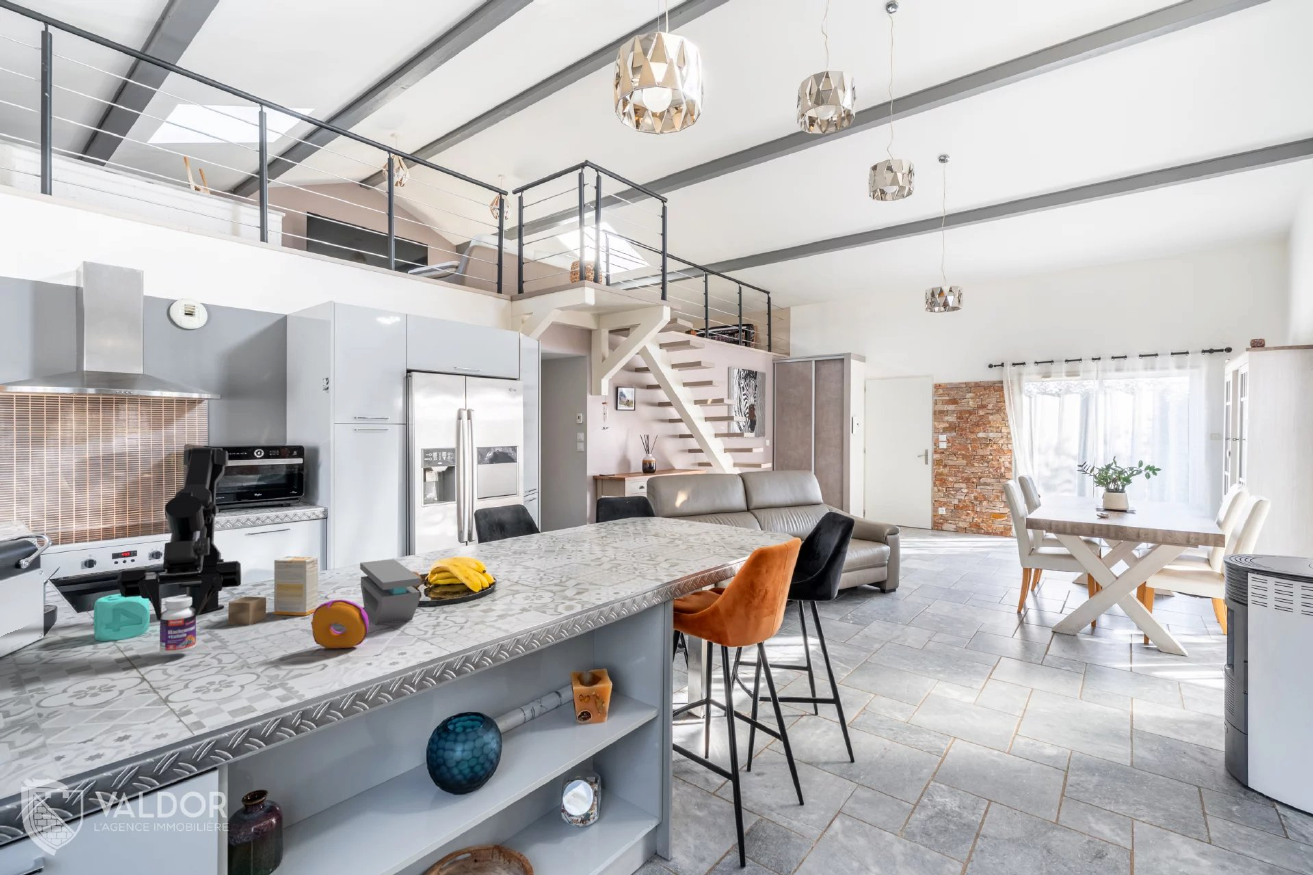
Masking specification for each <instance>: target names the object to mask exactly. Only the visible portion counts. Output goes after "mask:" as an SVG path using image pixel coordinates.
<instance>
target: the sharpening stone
mask: <svg viewBox="0 0 1313 875" xmlns="http://www.w3.org/2000/svg"><path fill="white" fill-rule="evenodd" d="M359 570H360V571H362V572H363V573H364V574H365V576H360V589H361V596H362V601H363V609H364V611H365V612H366V613H367V615H368V619H370V620H371V621H372V623H373V624H374V625H375V626H379V625H386V624H391V623H398V622H405V621H409V620H413V619H414V615H415V613H416V610H417V608H418V605H419V604H420V603H419V602H420V591H419V590H417V589H416V588H415V587H417V586H422V578H421V577H420V576H419V575H417V574H415V573H414V572H413V571H411V570H410V569H408V568H407V567H406V566H404V565H403V564H401V563H400V562H399V561H397V560H395V558H394V559H393V558H391V559H383V560H382V559H381V560H374V561H364V562H363V561H362V562H360V563H359Z"/></svg>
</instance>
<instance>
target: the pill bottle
mask: <svg viewBox="0 0 1313 875" xmlns="http://www.w3.org/2000/svg"><path fill="white" fill-rule="evenodd" d="M164 601H165V604H164V607H165V609H166V610H164V611H163V612H161V617H160V620H159V653H161V654H164V655H175V654H182V653H186V652H188V651H191V650H193V649H194V648H196V645H197V643H196V642H197V616H195V609H194V608H192V607H191V605H192V597H190V596H184V595H183V596H182V595H181V596H174V597H170V598H167V599H165V600H164Z"/></svg>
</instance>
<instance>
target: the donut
mask: <svg viewBox="0 0 1313 875" xmlns="http://www.w3.org/2000/svg"><path fill="white" fill-rule="evenodd" d="M312 614H313V615H312V621H311V622H310V624H311V629H312V636H313V640H314V642H315V643H316V644H317V645H320V646H321V647H323V648H326V649H338V650H340V649H343V648H344V649H349V648H353V647H357V646H358V645H360V644H361V643H363V642H364V640H365V639H366V637H367V635H368V631H369V630H368V629H369V623H370V622H369V617H368V615H367V613H366V612H365V609H364V607H362V606H360V605H358V603H356V602H354V601H350V600H346V599H333V600H329V601H326V602H324V603H322V604H320V605H318V608H316V610H315V612H313V613H312ZM332 624H339V625H340V626H343V627H344V628H345V630H344V631H337V630H335V629H334V628H333V626H332Z"/></svg>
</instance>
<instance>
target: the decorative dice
mask: <svg viewBox="0 0 1313 875" xmlns="http://www.w3.org/2000/svg"><path fill="white" fill-rule="evenodd" d="M150 611H151V609H150V600H149V599H143V598H142V597H141V596H134V597H123V596H121V593H116V594H109V595H106V596H102V597H99V598H97V599H96V601H94V607H93V633H94V638H95V639H94V640H97V641H99V642H114V641H120V640H126V639H127V640H128V639H133V638H136V637H140V636H141V635H143V634H146V633H147V631H148V630H149V627H150V620H151V619H150V618H151V617H150V614H151V612H150Z"/></svg>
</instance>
